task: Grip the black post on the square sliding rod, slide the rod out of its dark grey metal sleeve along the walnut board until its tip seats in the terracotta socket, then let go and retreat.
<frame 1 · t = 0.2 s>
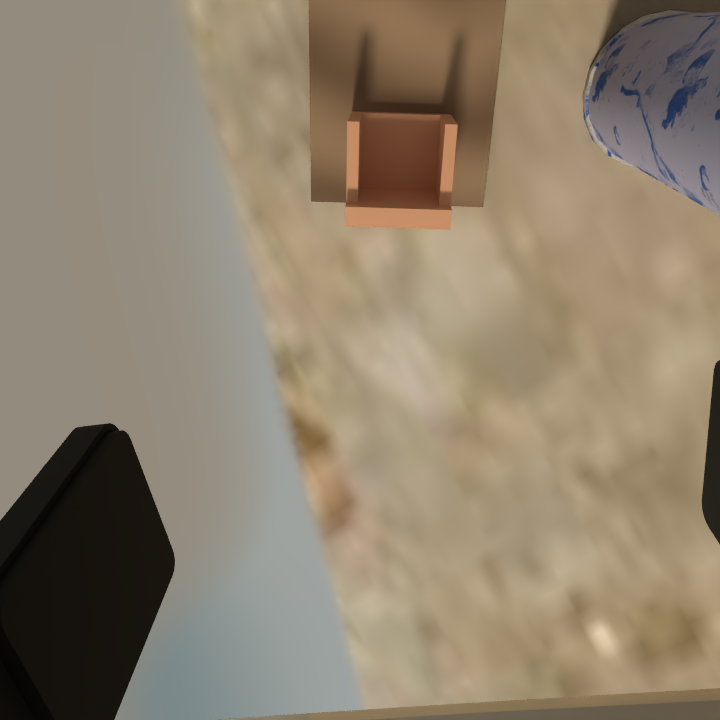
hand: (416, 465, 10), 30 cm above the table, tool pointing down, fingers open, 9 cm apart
socket block: (399, 168, 34), on the track board, point 4 cm above the table
aerosol can: (654, 91, 35), on the table
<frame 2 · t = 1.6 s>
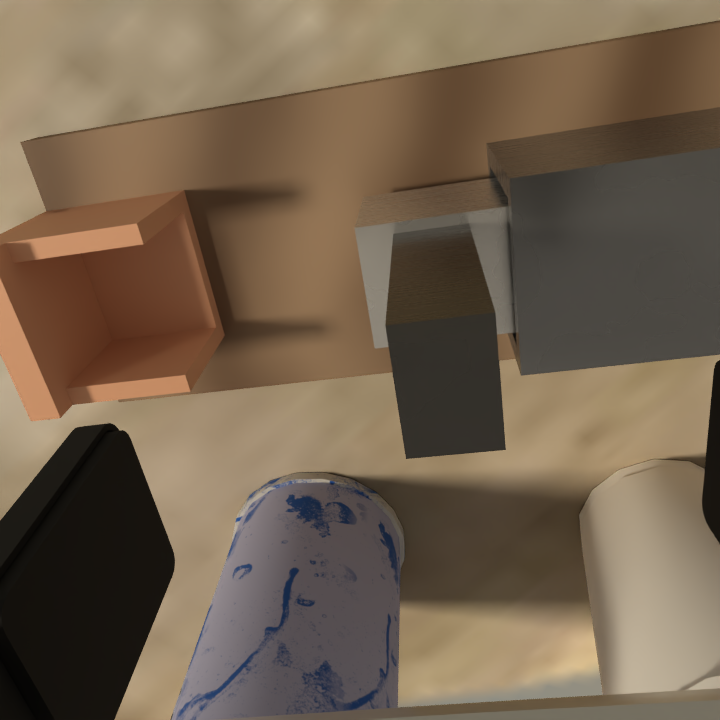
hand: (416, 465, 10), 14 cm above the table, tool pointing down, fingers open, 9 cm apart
socket block: (110, 301, 21), on the track board, point 4 cm above the table
square sliding rod: (679, 268, 16), point 7 cm above the table, slide at 0.0 cm
foam cup: (652, 516, 28), on the table
aerosol can: (320, 538, 30), on the table
track board: (460, 223, 22), on the table
outer sleeve: (718, 223, 18), on the track board, point 4 cm above the table
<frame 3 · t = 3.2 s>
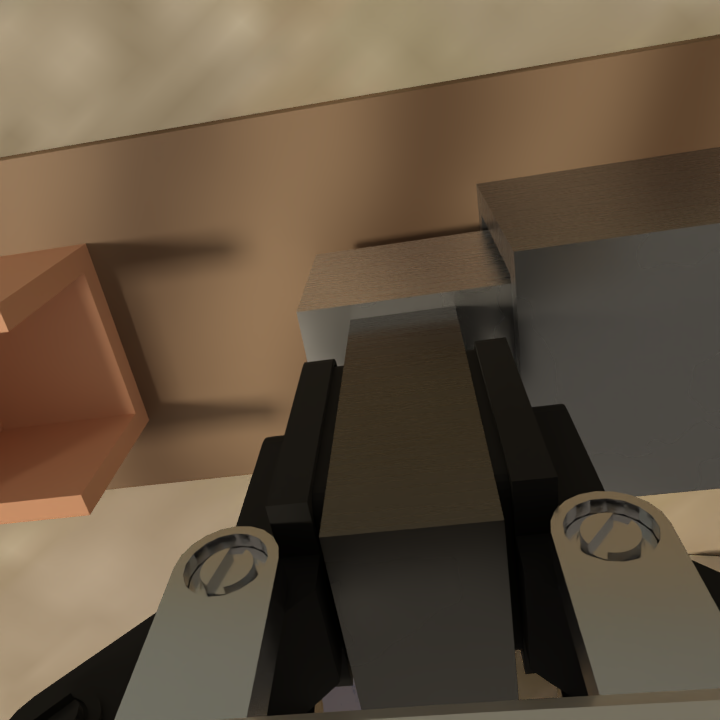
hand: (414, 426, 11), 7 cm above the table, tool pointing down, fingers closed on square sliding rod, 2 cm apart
foam cup: (677, 616, 23), on the table
aerosol can: (280, 643, 25), on the table
track board: (443, 280, 18), on the table
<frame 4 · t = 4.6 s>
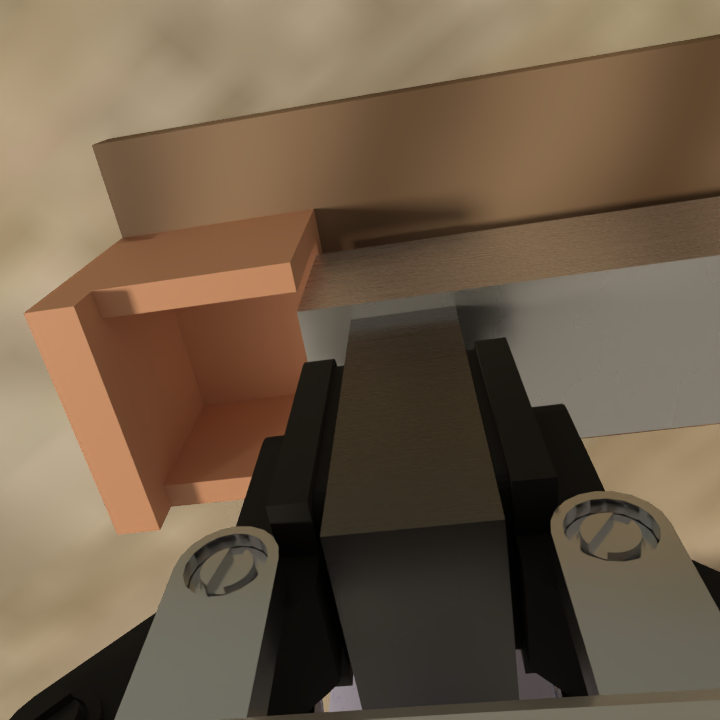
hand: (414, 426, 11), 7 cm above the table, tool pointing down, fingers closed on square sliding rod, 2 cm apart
socket block: (220, 363, 15), on the track board, point 4 cm above the table
aerosol can: (436, 631, 24), on the table
track board: (670, 249, 17), on the table
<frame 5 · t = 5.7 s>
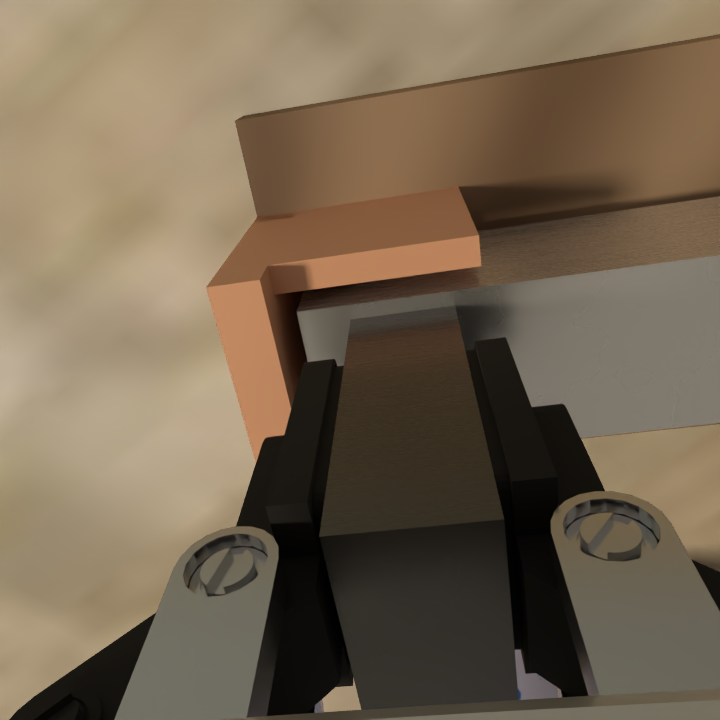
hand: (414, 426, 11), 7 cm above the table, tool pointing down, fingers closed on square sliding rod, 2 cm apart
socket block: (369, 344, 15), on the track board, point 4 cm above the table
aerosol can: (533, 623, 24), on the table
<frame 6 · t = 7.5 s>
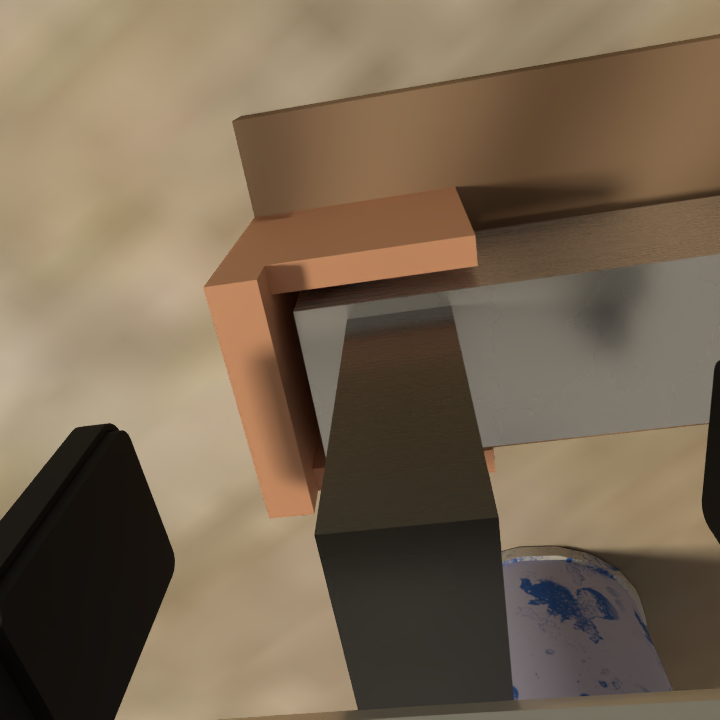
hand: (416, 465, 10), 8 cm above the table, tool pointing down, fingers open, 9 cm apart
socket block: (366, 343, 15), on the track board, point 4 cm above the table
aerosol can: (530, 622, 24), on the table
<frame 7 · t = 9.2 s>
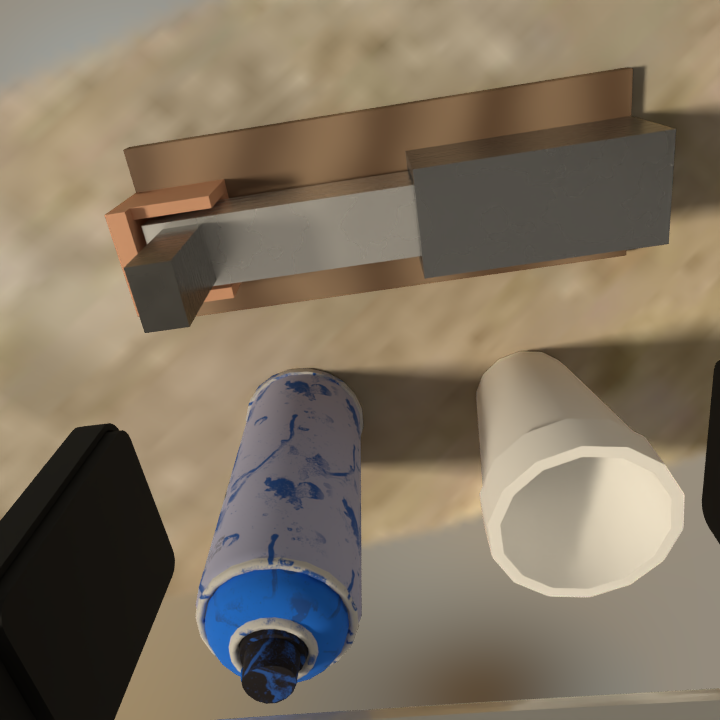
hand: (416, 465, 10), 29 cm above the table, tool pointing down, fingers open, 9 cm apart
socket block: (182, 246, 35), on the track board, point 4 cm above the table
square sliding rod: (302, 245, 31), point 7 cm above the table, slide at 9.6 cm
foam cup: (523, 392, 43), on the table
aerosol can: (305, 418, 44), on the table
track board: (392, 199, 37), on the table
outer sleeve: (530, 195, 33), on the track board, point 4 cm above the table
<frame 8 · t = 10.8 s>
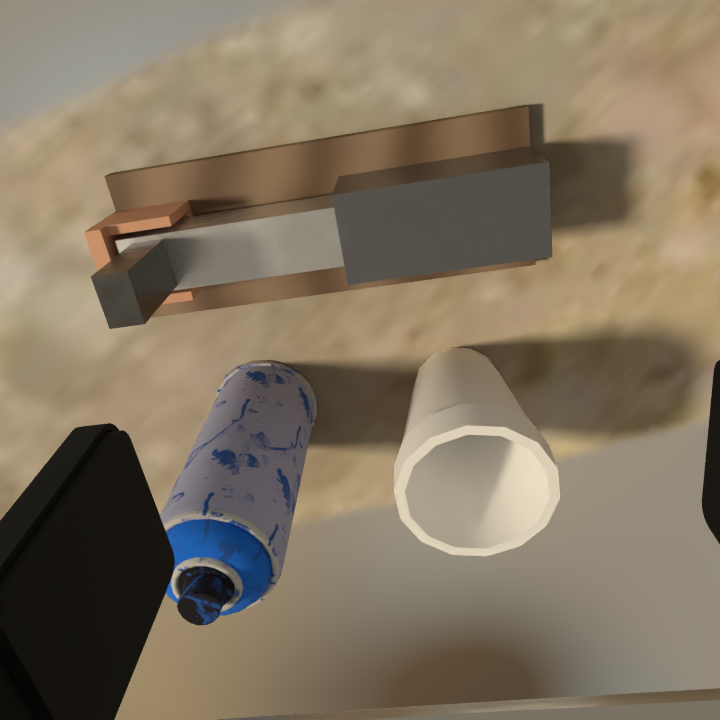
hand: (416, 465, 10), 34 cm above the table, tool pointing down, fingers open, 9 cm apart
socket block: (151, 256, 41), on the track board, point 4 cm above the table
square sliding rod: (244, 257, 38), point 7 cm above the table, slide at 9.6 cm
foam cup: (456, 383, 49), on the table
aerosol can: (267, 404, 50), on the table
track board: (332, 216, 43), on the table
outer sleeve: (440, 214, 39), on the track board, point 4 cm above the table
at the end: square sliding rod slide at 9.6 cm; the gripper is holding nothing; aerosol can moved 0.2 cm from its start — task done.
